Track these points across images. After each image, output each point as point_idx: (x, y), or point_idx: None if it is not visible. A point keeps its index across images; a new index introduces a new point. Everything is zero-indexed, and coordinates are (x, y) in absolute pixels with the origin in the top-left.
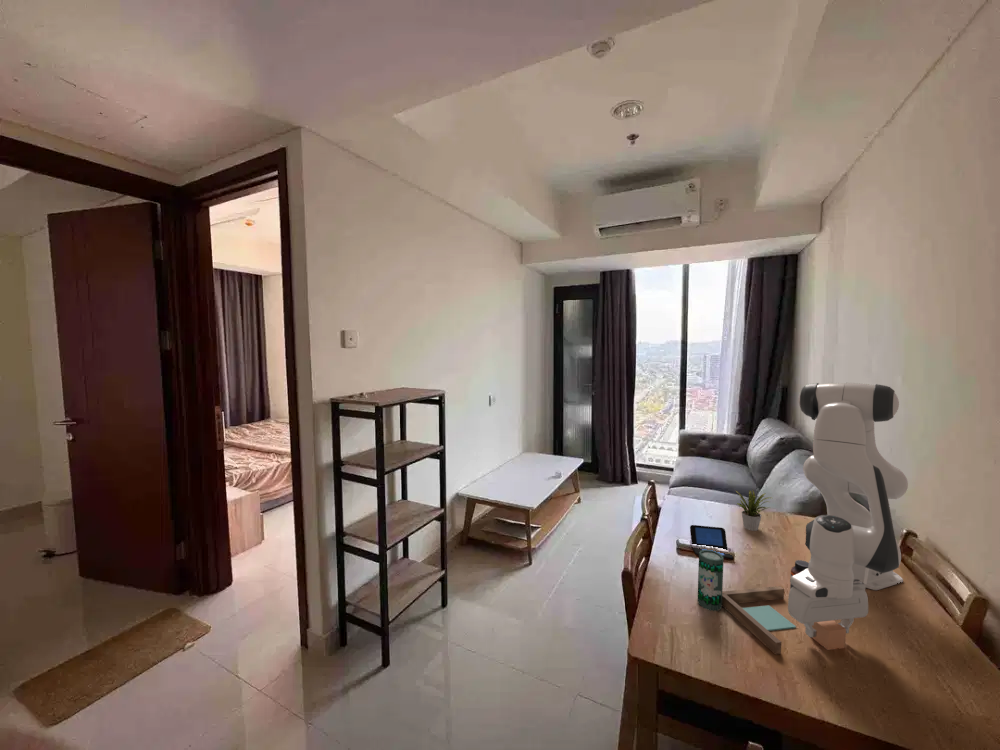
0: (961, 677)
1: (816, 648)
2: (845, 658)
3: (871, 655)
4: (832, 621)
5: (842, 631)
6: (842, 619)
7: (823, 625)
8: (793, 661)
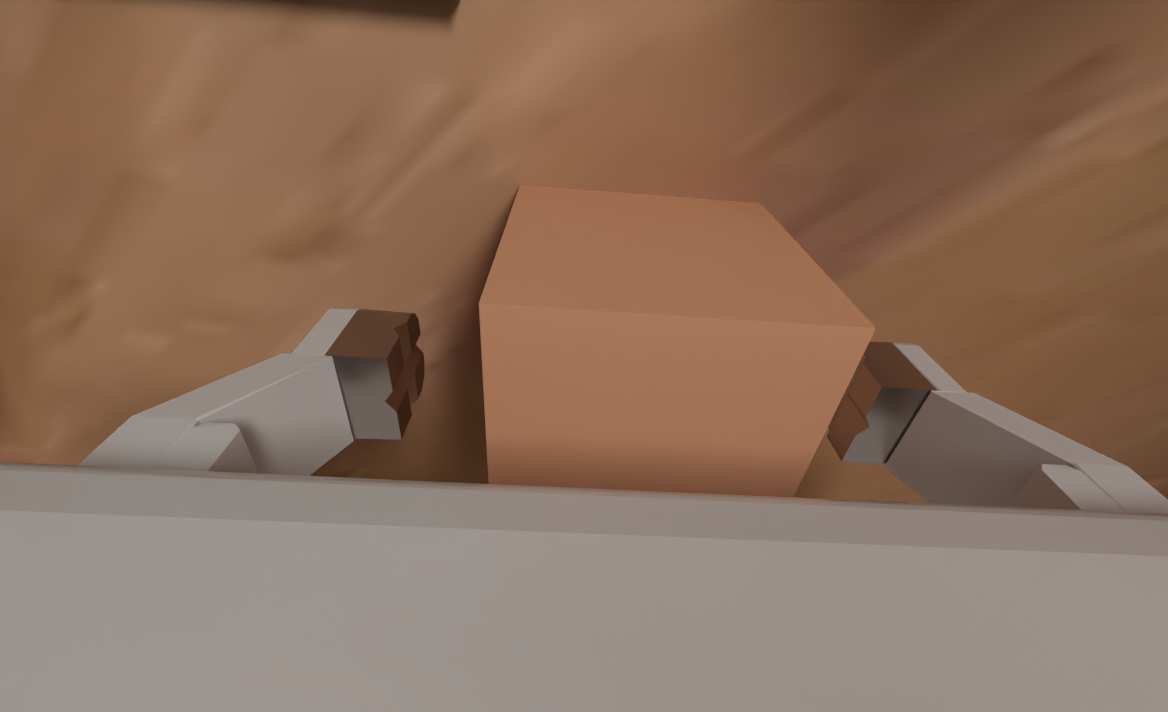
0: None
1: (424, 347)
2: None
3: (810, 475)
4: (774, 442)
5: None
6: (999, 437)
7: (525, 475)
8: (87, 412)
